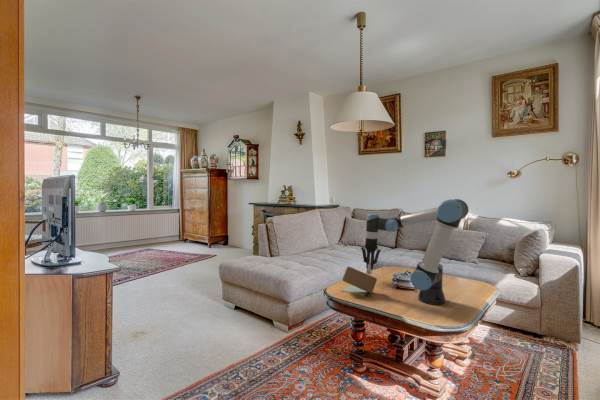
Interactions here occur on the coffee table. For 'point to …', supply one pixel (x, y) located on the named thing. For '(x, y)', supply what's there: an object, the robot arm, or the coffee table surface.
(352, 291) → the mat
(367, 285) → the block
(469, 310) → the coffee table surface
